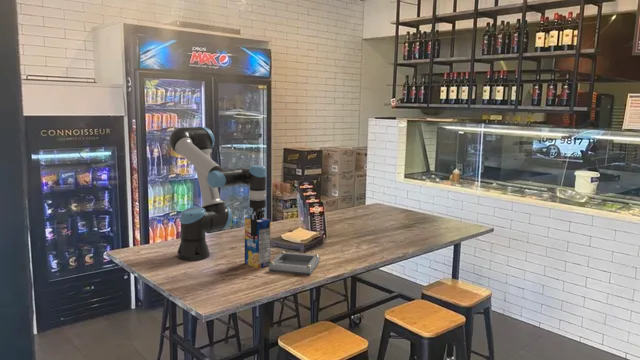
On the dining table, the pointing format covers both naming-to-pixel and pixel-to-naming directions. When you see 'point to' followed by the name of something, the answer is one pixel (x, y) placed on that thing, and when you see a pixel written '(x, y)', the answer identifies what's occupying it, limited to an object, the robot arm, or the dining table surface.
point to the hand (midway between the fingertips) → (257, 247)
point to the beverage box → (258, 243)
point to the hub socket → (294, 263)
